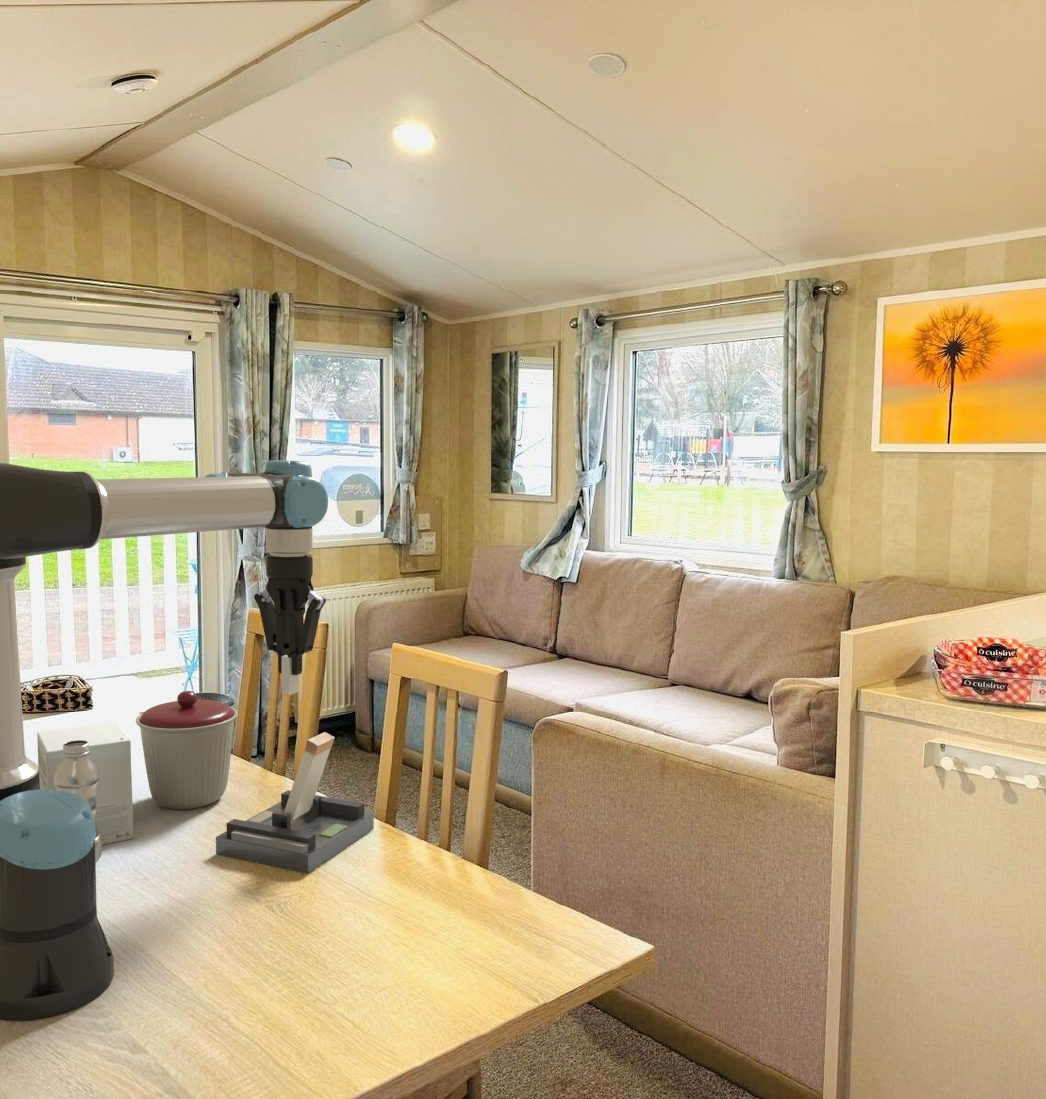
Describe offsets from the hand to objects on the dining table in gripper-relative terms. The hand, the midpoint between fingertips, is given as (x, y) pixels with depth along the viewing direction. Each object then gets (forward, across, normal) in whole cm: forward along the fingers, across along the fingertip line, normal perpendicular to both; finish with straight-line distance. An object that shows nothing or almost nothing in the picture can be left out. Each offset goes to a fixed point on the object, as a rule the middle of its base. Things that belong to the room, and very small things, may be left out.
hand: (290, 692), depth 165 cm
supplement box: (+26, +34, +12) cm, 44 cm away
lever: (+20, -1, 0) cm, 20 cm away
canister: (+26, +29, -8) cm, 40 cm away
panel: (+26, -1, 0) cm, 26 cm away
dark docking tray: (+23, -1, 0) cm, 23 cm away
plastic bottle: (+26, +25, +22) cm, 42 cm away
